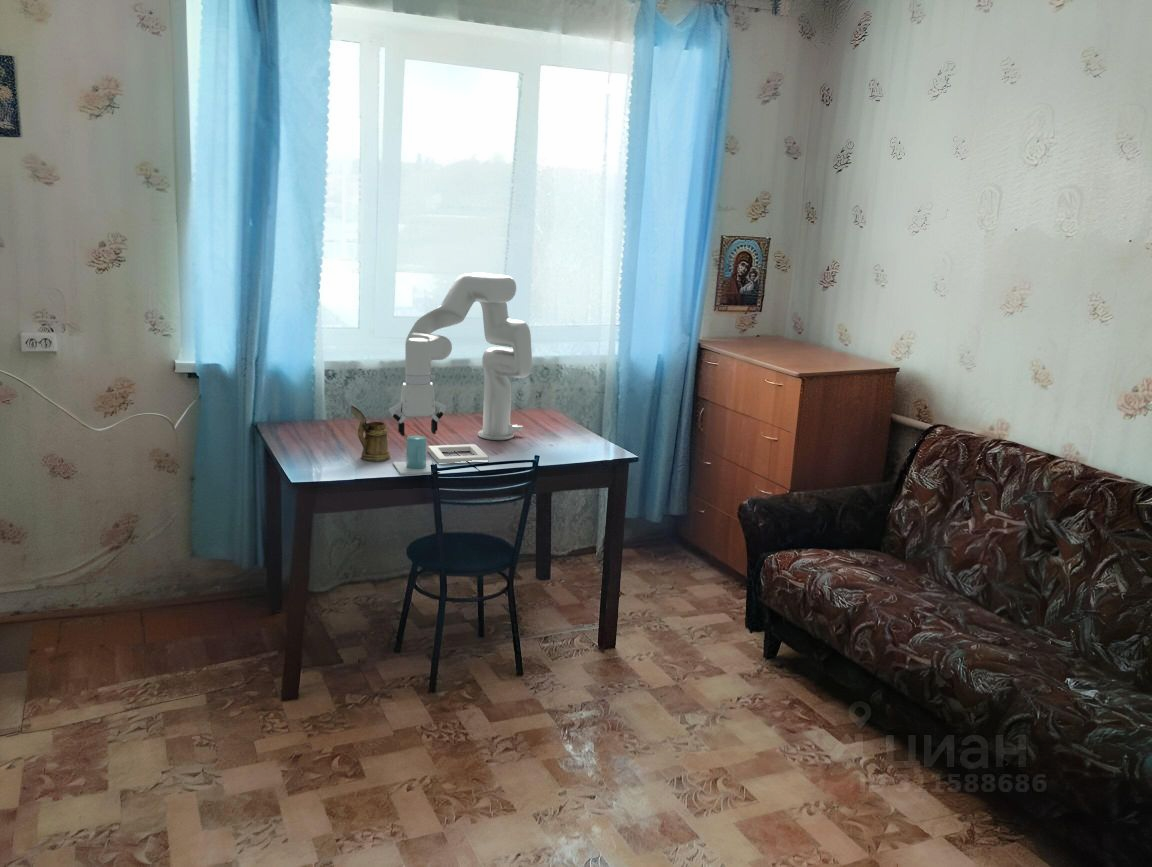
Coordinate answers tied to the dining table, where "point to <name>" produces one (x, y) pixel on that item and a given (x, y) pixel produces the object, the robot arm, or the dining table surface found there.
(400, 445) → the dining table surface
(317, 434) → the dining table surface
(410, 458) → the jug
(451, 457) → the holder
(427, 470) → the tile
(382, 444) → the wooden mug
